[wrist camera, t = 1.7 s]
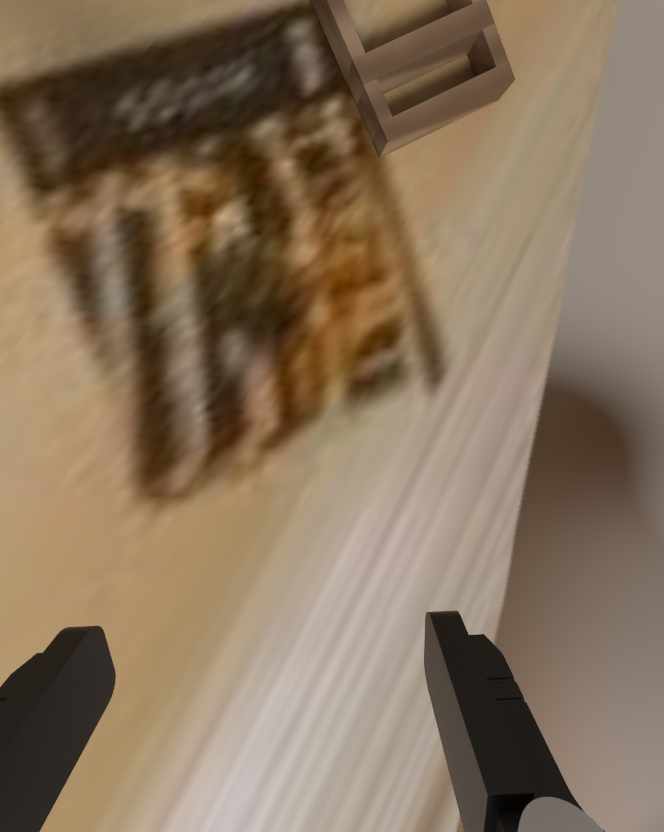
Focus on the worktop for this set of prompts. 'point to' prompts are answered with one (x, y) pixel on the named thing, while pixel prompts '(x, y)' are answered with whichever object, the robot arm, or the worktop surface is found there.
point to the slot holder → (418, 69)
